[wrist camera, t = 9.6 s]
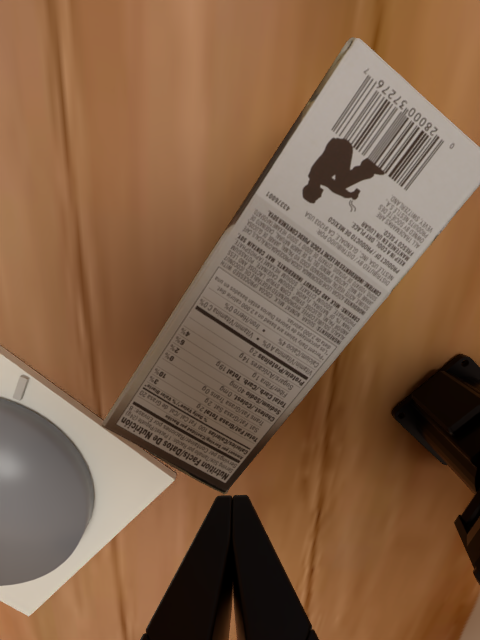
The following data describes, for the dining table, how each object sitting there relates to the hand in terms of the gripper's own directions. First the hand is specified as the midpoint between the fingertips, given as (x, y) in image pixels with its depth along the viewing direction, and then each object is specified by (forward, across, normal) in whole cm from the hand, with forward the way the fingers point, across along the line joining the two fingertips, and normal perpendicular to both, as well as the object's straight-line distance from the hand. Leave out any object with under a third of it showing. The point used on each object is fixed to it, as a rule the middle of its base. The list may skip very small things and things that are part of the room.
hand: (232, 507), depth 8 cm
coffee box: (+8, -6, -11) cm, 15 cm away
